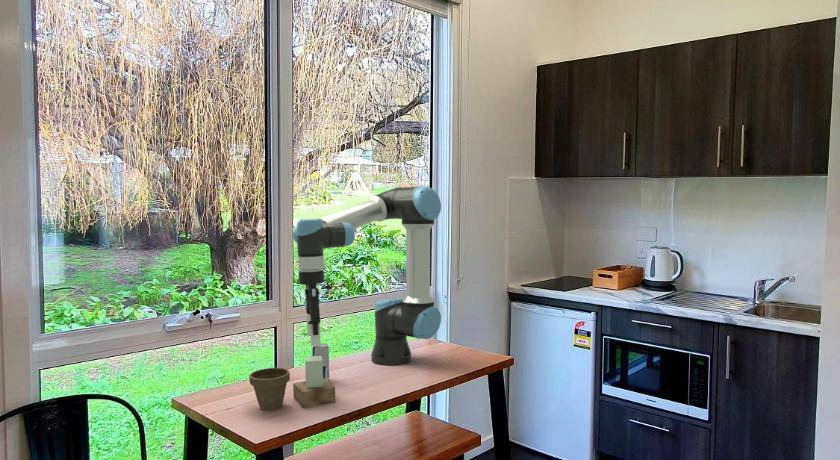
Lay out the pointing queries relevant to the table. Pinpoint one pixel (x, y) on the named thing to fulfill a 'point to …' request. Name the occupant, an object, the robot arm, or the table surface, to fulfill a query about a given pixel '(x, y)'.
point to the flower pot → (270, 386)
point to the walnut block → (313, 394)
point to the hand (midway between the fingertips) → (313, 340)
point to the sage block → (314, 371)
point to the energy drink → (323, 357)
